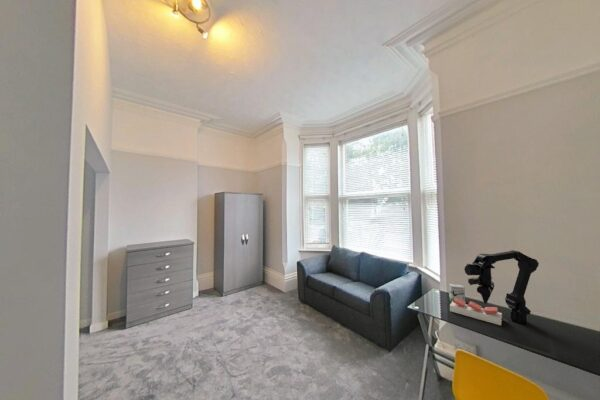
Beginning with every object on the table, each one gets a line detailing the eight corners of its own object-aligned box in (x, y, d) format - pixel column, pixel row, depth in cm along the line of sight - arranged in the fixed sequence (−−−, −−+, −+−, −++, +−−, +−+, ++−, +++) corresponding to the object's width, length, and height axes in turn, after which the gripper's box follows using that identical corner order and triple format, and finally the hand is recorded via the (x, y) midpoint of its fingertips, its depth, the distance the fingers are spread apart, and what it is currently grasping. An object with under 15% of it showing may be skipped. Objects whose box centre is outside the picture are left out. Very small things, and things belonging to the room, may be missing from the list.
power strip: (508, 321, 130) (508, 314, 130) (507, 327, 123) (507, 320, 123) (452, 306, 150) (452, 300, 150) (450, 311, 143) (449, 304, 143)
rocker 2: (480, 308, 138) (481, 305, 138) (479, 311, 133) (480, 309, 133) (469, 302, 142) (470, 300, 142) (467, 305, 138) (468, 303, 137)
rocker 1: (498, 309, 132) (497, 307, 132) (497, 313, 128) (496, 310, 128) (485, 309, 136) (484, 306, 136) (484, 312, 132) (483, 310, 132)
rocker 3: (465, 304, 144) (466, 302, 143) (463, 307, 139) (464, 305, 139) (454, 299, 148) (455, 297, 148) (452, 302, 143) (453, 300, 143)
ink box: (451, 302, 156) (450, 285, 157) (449, 299, 161) (448, 283, 161) (465, 303, 154) (464, 287, 154) (462, 300, 158) (462, 284, 159)
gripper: (471, 269, 144) (472, 292, 143) (465, 275, 131) (466, 301, 131) (493, 272, 136) (495, 297, 135) (489, 280, 123) (491, 307, 122)
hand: (486, 300), depth 131 cm, fingers open, 9 cm apart
